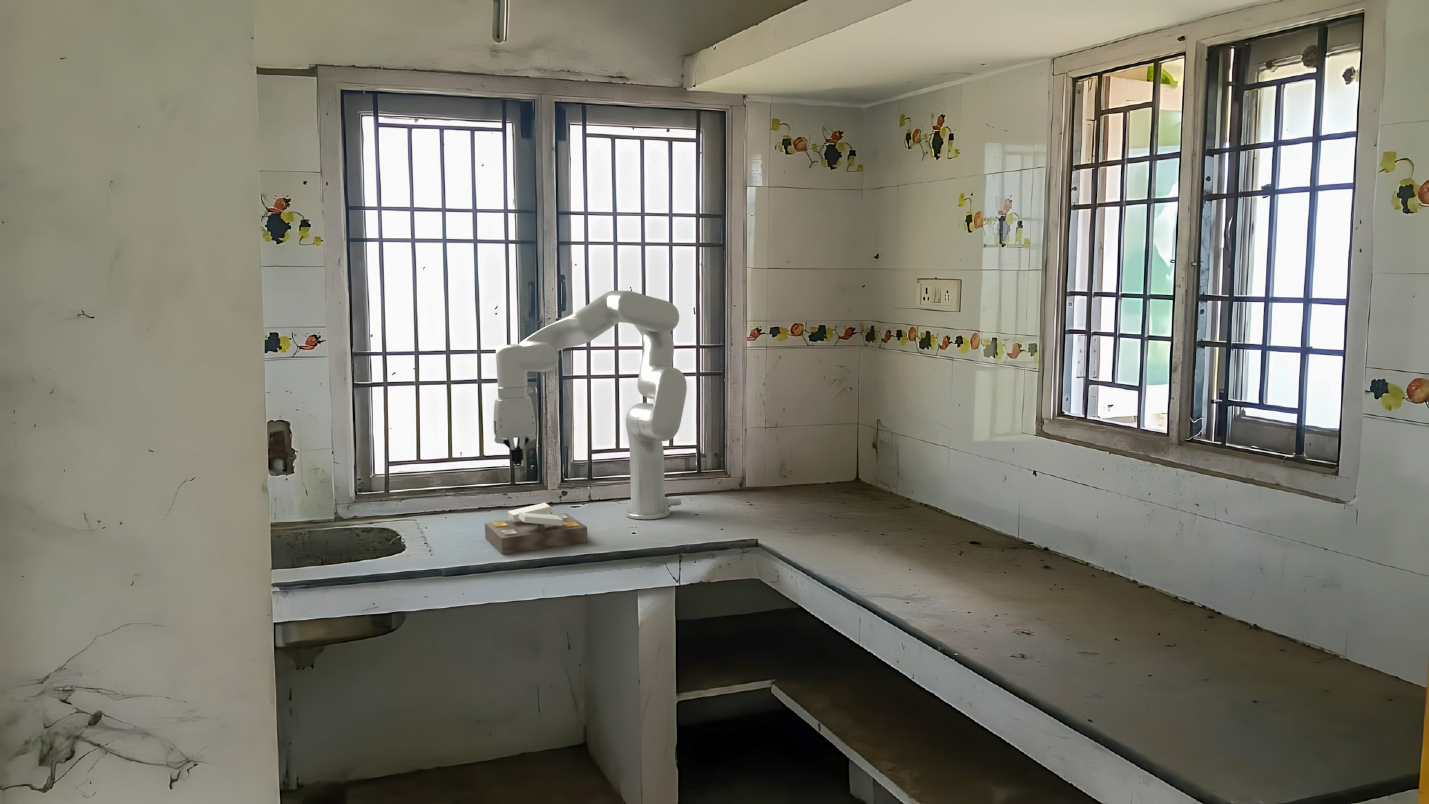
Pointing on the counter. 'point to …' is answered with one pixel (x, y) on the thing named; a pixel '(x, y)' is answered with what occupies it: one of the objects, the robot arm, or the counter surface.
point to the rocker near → (540, 519)
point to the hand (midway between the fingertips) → (517, 463)
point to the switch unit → (534, 534)
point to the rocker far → (530, 510)
